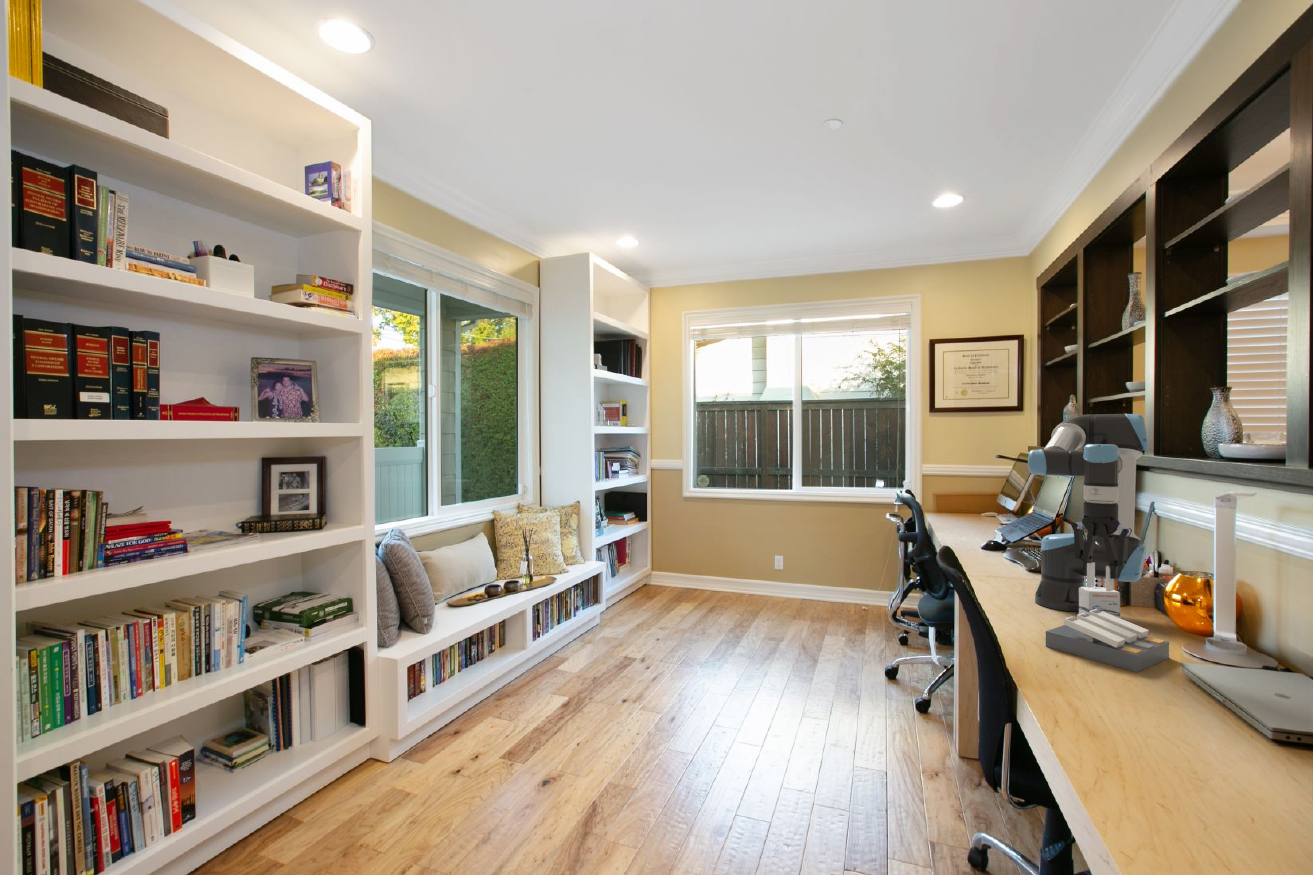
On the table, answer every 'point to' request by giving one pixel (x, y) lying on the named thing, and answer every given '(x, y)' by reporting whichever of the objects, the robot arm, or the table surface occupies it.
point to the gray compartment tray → (1109, 649)
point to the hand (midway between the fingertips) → (1100, 588)
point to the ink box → (1099, 600)
